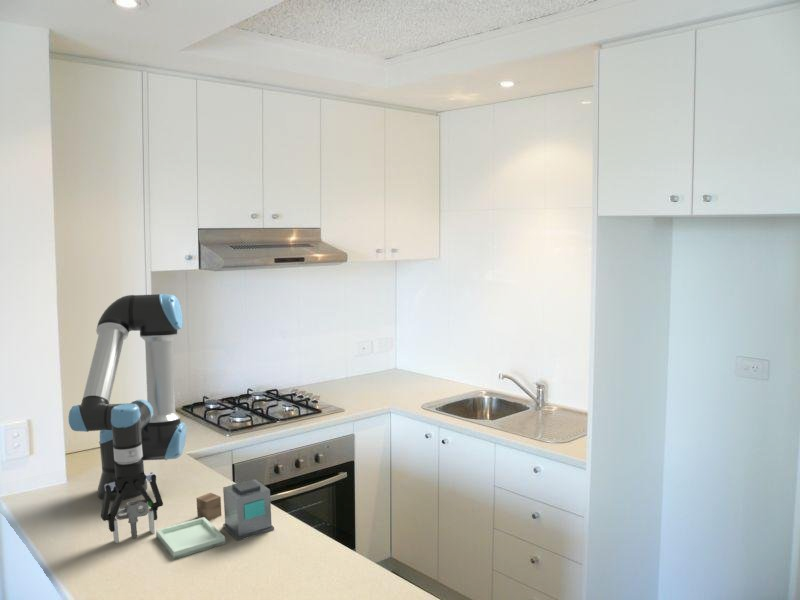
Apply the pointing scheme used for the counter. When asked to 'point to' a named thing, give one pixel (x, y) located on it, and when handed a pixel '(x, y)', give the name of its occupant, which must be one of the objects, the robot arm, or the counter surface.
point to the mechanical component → (134, 513)
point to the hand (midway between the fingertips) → (134, 536)
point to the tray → (190, 537)
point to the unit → (247, 509)
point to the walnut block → (209, 506)
